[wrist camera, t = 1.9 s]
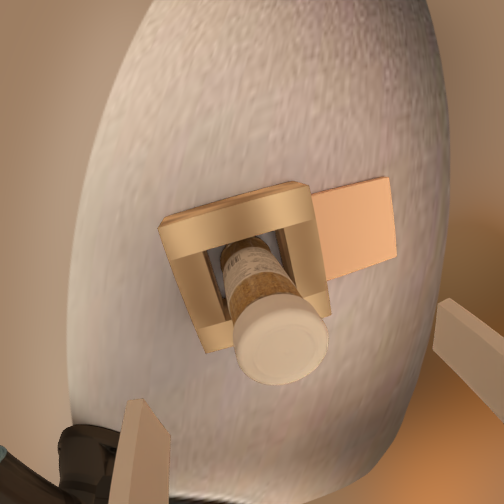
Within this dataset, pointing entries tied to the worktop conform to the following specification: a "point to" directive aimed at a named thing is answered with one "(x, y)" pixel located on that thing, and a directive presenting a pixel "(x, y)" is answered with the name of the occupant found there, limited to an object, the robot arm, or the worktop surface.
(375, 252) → the terracotta tile
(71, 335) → the worktop surface
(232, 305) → the sprinkles bottle
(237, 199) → the socket block
